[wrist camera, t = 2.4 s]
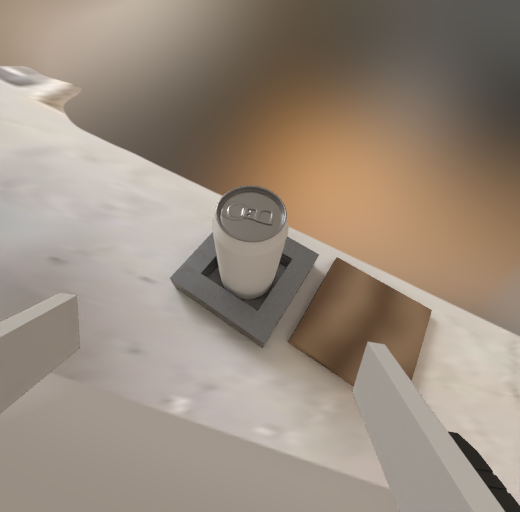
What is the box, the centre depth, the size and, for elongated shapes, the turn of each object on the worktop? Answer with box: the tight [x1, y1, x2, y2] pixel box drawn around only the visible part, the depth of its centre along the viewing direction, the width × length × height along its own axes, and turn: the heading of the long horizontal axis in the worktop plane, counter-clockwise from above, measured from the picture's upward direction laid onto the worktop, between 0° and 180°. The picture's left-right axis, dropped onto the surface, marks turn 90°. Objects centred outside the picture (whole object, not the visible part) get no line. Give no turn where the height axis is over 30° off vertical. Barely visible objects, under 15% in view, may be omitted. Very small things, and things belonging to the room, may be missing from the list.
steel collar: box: [170, 233, 319, 348], centre depth 29 cm, size 12×12×2 cm
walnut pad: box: [289, 258, 432, 386], centre depth 27 cm, size 12×12×1 cm
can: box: [212, 186, 288, 299], centre depth 25 cm, size 6×6×12 cm
